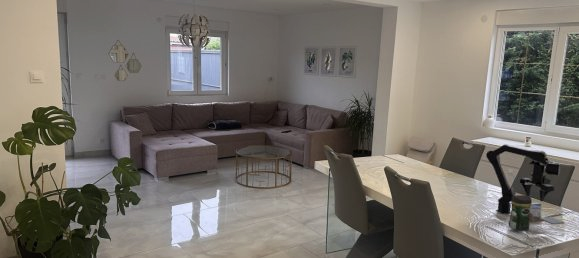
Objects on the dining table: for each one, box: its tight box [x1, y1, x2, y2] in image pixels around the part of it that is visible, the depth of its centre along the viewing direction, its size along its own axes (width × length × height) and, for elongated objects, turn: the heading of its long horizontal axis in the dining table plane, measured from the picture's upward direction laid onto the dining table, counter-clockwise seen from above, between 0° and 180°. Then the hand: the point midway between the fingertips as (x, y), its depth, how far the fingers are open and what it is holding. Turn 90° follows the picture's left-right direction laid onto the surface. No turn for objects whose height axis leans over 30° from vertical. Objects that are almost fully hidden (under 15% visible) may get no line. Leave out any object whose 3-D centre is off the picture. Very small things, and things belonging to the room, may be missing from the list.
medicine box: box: [529, 202, 542, 219], centre depth 243 cm, size 8×4×9 cm, turn 105°
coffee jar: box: [508, 194, 533, 232], centre depth 224 cm, size 10×8×19 cm
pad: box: [542, 217, 565, 225], centre depth 240 cm, size 9×8×1 cm
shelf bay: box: [529, 213, 544, 223], centre depth 243 cm, size 10×8×4 cm
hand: (534, 198), depth 242 cm, fingers open, 9 cm apart
